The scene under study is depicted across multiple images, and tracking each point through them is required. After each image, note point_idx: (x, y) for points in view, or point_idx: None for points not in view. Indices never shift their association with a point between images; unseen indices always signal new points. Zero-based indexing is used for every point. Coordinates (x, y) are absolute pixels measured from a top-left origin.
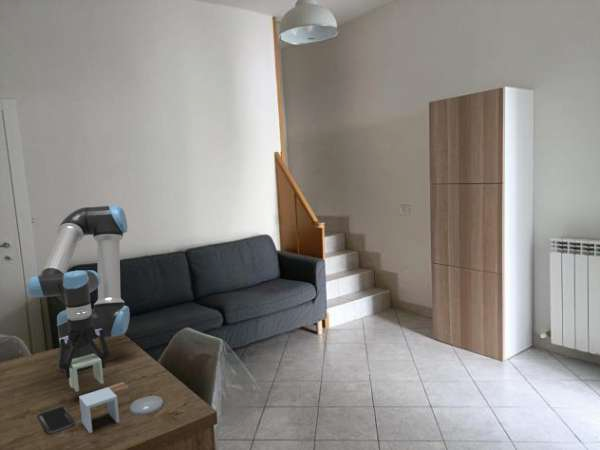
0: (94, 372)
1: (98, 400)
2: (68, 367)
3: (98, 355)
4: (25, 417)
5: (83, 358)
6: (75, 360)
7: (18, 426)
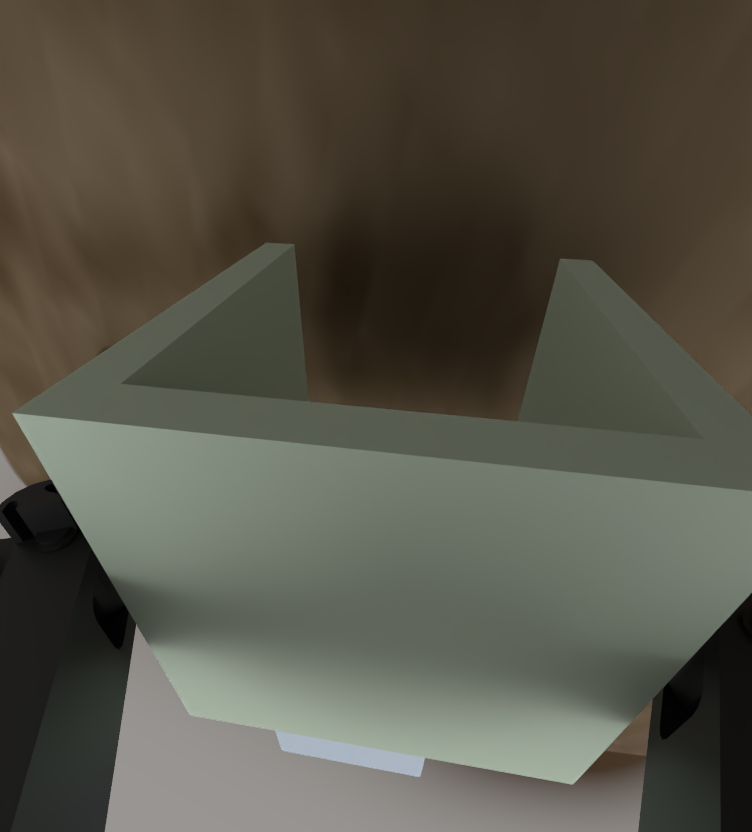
0: (564, 329)
1: (338, 754)
2: (123, 613)
3: (654, 760)
4: (16, 295)
5: (391, 588)
6: (214, 561)
7: (16, 380)
